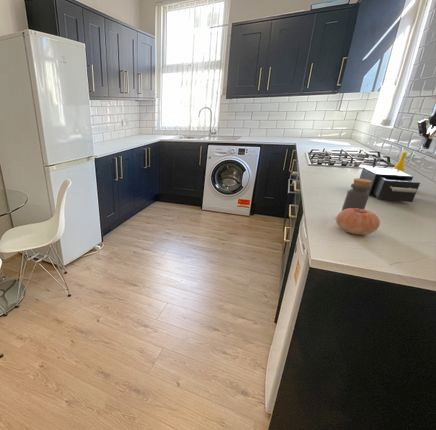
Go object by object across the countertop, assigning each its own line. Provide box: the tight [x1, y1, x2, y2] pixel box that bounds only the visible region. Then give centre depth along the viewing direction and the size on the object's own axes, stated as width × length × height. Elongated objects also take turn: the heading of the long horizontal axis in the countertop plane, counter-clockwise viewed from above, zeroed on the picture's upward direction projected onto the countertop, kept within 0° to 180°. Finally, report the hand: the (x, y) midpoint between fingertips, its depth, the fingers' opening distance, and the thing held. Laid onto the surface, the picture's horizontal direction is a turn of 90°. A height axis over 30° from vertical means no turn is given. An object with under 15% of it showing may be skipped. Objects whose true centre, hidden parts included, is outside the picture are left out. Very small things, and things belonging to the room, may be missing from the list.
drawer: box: [372, 176, 421, 203], centre depth 120 cm, size 18×11×8 cm, turn 158°
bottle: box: [341, 177, 372, 211], centre depth 97 cm, size 6×6×15 cm
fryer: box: [359, 166, 414, 197], centre depth 128 cm, size 15×13×10 cm
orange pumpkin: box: [335, 208, 381, 236], centre depth 90 cm, size 11×11×8 cm
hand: (432, 148), depth 104 cm, fingers open, 3 cm apart
